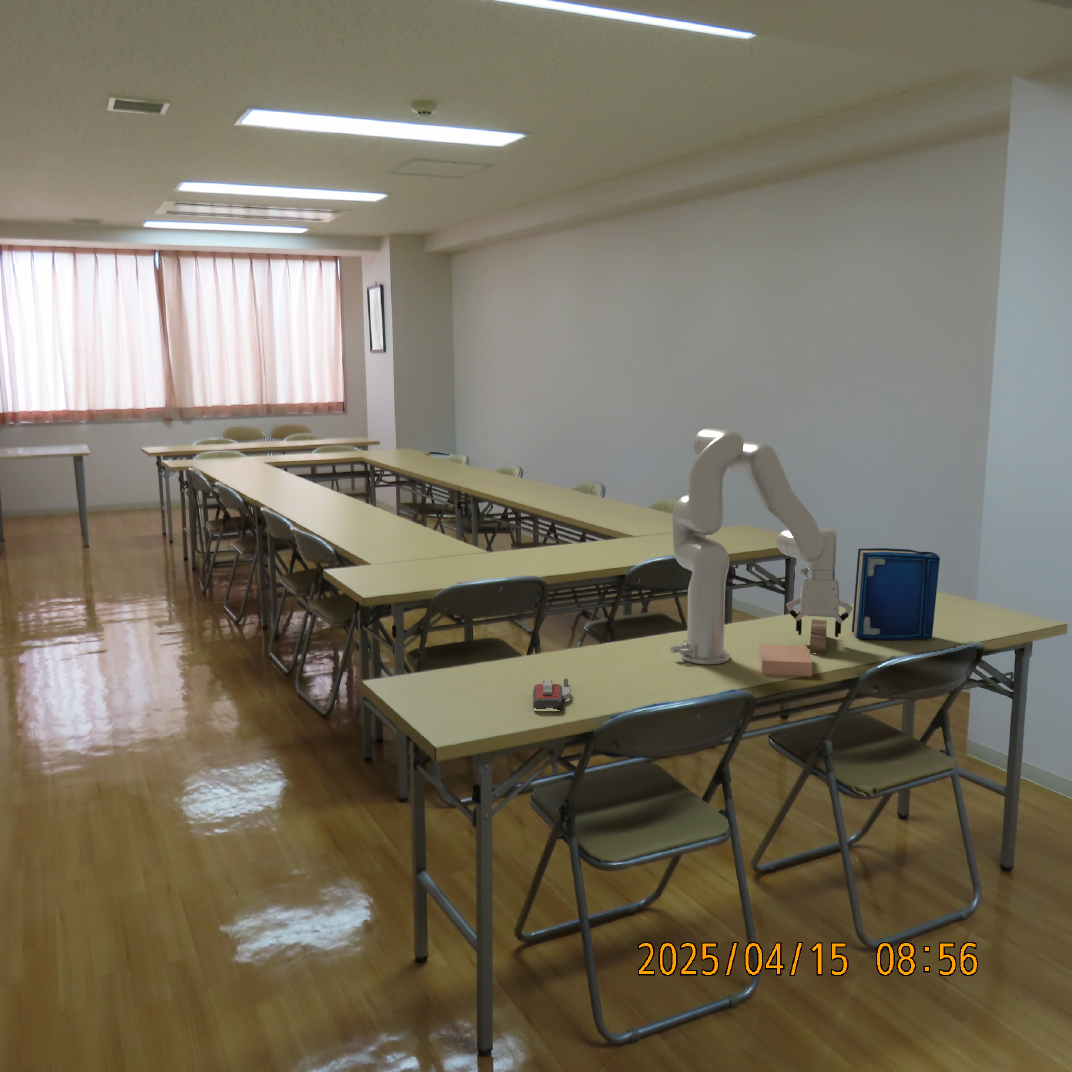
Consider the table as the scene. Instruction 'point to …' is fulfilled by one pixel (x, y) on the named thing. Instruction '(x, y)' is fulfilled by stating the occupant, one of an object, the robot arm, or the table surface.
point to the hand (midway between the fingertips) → (818, 634)
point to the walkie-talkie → (550, 695)
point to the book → (895, 594)
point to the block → (818, 636)
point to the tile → (785, 660)
